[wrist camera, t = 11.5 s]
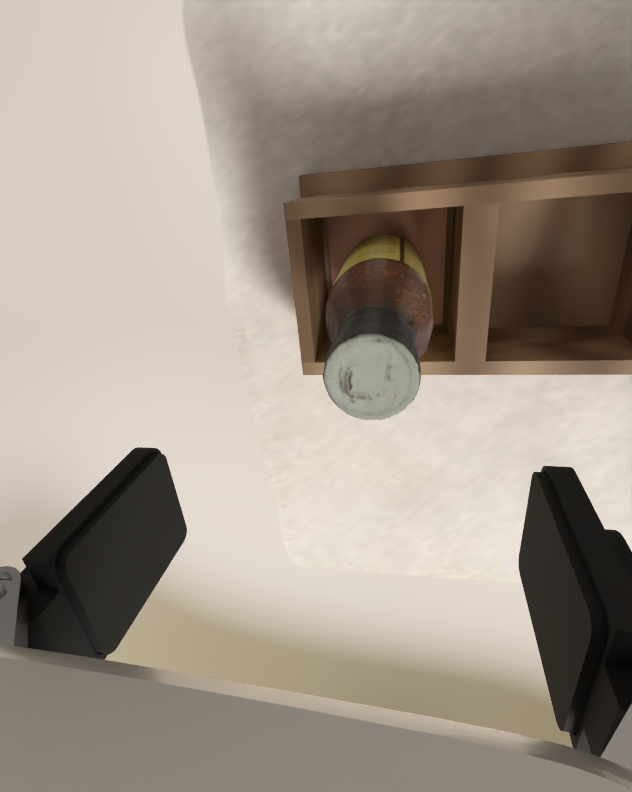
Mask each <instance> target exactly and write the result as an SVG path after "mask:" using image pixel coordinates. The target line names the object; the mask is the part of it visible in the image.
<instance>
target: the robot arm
mask: <svg viewBox="0 0 632 792" xmlns="http://www.w3.org/2000/svg"><path fill="white" fill-rule="evenodd" d="M186 533H187V528H186V524H185V520H184V517H183V514H182V510H181V507H180V503H179V500H178V497H177V493H176V490H175V486H174V483H173V480H172V476H171V473H170V470H169V466H168V463H167V459H166V457H165V456H164V455H163V454H161V452H160V451H159V450H158V449H156V448H135V449H133V450H132V451H131V452H130V453H129V454H128V455H127V456H126V457H125V458H124V459H123V460H122V461H121V462H120V463H119V464H118V465H117V466H116V467H115V468H114V469H113V470H112V471H111V472H110V473H109V474H108V475H107V476H106V477H105V478H104V479H103V480H102V481H101V482H100V483H99V484H98V485H97V486H96V487H95V488H94V489H93V490H92V491H91V492H90V493H89V494H88V495H87V496H85V498H83V499H82V500H81V501H80V502H79V503H78V504H77V506H75V507H74V508H73V509H72V510H71V511H70V512H69V513H68V514H67V515H66V516H65V517H64V518H63V519H62V520H61V521H60V522H59V523H58V524H57V525H56V526H55V527H54V528H53V529H52V530H51V531H50V532H49V533H48V534H47V535H46V536H45V537H44V538H43V539H42V540H41V541H40V542H39V543H38V544H37V545H36V546H35V547H34V548H33V549H32V550H31V551H30V552H29V553H28V554H27V555H26V556H25V557H24V558H23V559H22V560H23V562H24V563H25V565H26V568H25V569H24V570H23V571H22V572H21V573H20V572H19V571H18V570H17V569H16V568H14V567H9V566H6V567H0V792H632V552H631V550H630V548H629V546H628V544H627V543H626V541H625V539H624V538H623V536H622V535H621V533H619V532H618V531H616V530H605V529H604V527H603V525H602V523H601V521H600V519H599V517H598V515H597V513H596V512H595V510H594V508H593V506H592V504H591V502H590V500H589V498H588V496H587V494H586V492H585V490H584V488H583V486H582V484H581V482H580V480H579V478H578V476H577V474H576V472H575V471H574V469H573V468H571V467H555V466H544V467H543V468H542V470H541V472H534V473H533V475H532V480H531V486H530V492H529V498H528V505H527V511H526V517H525V523H524V529H523V535H522V541H521V547H520V554H519V571H520V576H521V580H522V584H523V588H524V592H525V596H526V600H527V604H528V608H529V612H530V616H531V620H532V624H533V628H534V632H535V636H536V640H537V644H538V649H539V653H540V656H541V660H542V665H543V669H544V673H545V676H546V681H547V685H548V689H549V693H550V697H551V701H552V705H553V709H554V713H555V717H556V721H557V724H558V726H559V729H560V730H561V731H566V732H569V733H570V737H571V740H572V745H573V748H571V747H567V746H564V745H560V744H556V743H552V742H548V741H544V740H540V739H536V738H532V737H528V736H524V735H519V734H515V733H511V732H505V731H500V730H495V729H490V728H485V727H480V726H475V725H470V724H464V723H460V722H455V721H450V720H445V719H439V718H434V717H429V716H424V715H418V714H412V713H407V712H401V711H396V710H390V709H385V708H379V707H374V706H368V705H362V704H357V703H351V702H346V701H339V700H335V699H329V698H323V697H318V696H312V695H307V694H301V693H295V692H289V691H284V690H278V689H272V688H266V687H260V686H255V685H249V684H243V683H238V682H232V681H226V680H220V679H215V678H209V677H203V676H197V675H191V674H185V673H180V672H174V671H168V670H162V669H156V668H150V667H144V666H138V665H132V664H126V663H120V662H114V661H108V660H105V658H106V656H107V655H108V654H110V653H112V652H113V651H115V649H116V648H117V647H118V645H119V643H120V642H121V640H122V639H123V637H124V635H125V634H126V632H127V630H128V629H129V627H130V626H131V624H132V623H133V621H134V619H135V618H136V616H137V615H138V613H139V611H140V610H141V609H142V607H143V605H144V604H145V602H146V600H147V599H148V597H149V596H150V594H151V592H152V591H153V589H154V588H155V586H156V584H157V583H158V581H159V580H160V578H161V577H162V575H163V574H164V572H165V570H166V569H167V567H168V566H169V564H170V562H171V560H172V559H173V558H174V556H175V554H176V553H177V551H178V550H179V548H180V547H181V545H182V543H183V542H184V540H185V537H186Z"/></svg>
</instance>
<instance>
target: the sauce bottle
mask: <svg viewBox="0 0 632 792" xmlns="http://www.w3.org/2000/svg"><path fill="white" fill-rule="evenodd" d="M326 327H327V332H328V335H329V338H330V340H331V342H332V344H331V346H330V348H329V351H328V353H327V355H326V359H325V365H324V371H323V379H324V383H325V387H326V389H327V392H328V394H329V396H330V398H331V399H332V400H333V402H334V403H335V404H336V405H337V406H338V407H339V408H340V409H342V410H343V411H344V412H345V413H347V414H349V415H351V416H353V417H356V418H360V419H364V420H375V419H385V418H388V417H391V416H393V415H395V414H398V413H399V412H401V411H403V410H404V409H405V408H406V407H407V406H408V405H409V404H410V403H411V402H412V401H413V400H414V398H415V396H416V394H417V392H418V389H419V385H420V378H421V367H420V359H419V357H420V356H422V355H424V353H425V351H426V350H427V348H428V344H429V340H430V336H431V332H432V328H433V311H432V300H431V295H430V291H429V287H428V283H427V280H426V275H425V271H424V267H423V263H422V261H421V258H420V256H419V254H418V252H417V251H416V250H415V248H414V247H413V246H412V245H411V244H410V243H408V242H407V241H405V240H404V239H403V238H401V237H399V236H396V235H391V234H382V235H376V236H371V237H368V238H367V239H364V240H363V241H362V242H361V243H359V244H358V245H357V246H356V247H355V248H354V249H353V250H352V251H351V252H350V254H349V255H348V257H347V259H346V260H345V262H344V265H343V267H342V269H341V271H340V273H339V275H338V277H337V279H336V281H335V283H334V285H333V287H332V289H331V291H330V295H329V298H328V301H327V307H326Z"/></svg>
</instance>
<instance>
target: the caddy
mask: <svg viewBox="0 0 632 792" xmlns="http://www.w3.org/2000/svg"><path fill="white" fill-rule="evenodd" d="M299 183H300V193H301V199H297V200H294V201H291V202H287V203H284V211H285V219H286V228H287V237H288V246H289V254H290V263H291V272H292V281H293V289H294V298H295V307H296V316H297V324H298V333H299V342H300V351H301V359H302V368H303V375H323V371H324V365H325V359H326V355H327V353H328V351H329V348H330V346H331V344H332V342H331V340H330V338H329V335H328V332H327V327H326V307H327V301H328V298H329V295H330V291H331V289H332V287H333V285H334V283H335V281H336V279H337V277H338V275H339V273H340V271H341V269H342V267H343V265H344V262H345V260H346V259H347V257H348V255H349V254H350V252H351V251H352V250H353V249H354V248H355V247H356V246H357V245H358V244H359V243H361V242H362V241H363V240H364V239H367V238H368V237H371V236H376V235H382V234H391V235H396V236H399V237H401V238H403V239H404V240H405V241H407V242H408V243H410V244H411V245H412V246H413V247H414V248H415V250H416V251H417V252H418V254H419V256H420V258H421V261H422V263H423V267H424V271H425V275H426V280H427V283H428V287H429V291H430V295H431V300H432V311H433V328H432V332H431V336H430V340H429V344H428V348H427V350H426V351H425V353H424V355H422V356H420V357H419V359H420V367H421V375H580V374H632V141H631V142H621V143H611V144H602V145H592V146H582V147H573V148H563V149H553V150H544V151H534V152H524V153H515V154H505V155H495V156H486V157H476V158H466V159H457V160H447V161H437V162H428V163H418V164H408V165H399V166H389V167H379V168H370V169H360V170H350V171H341V172H331V173H321V174H312V175H302V176H299Z"/></svg>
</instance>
